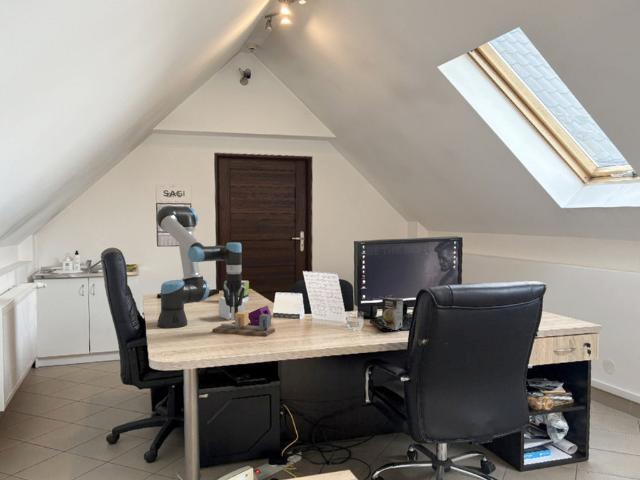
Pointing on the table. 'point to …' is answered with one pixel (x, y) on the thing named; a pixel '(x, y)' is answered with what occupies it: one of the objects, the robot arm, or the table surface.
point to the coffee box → (392, 312)
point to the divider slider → (241, 319)
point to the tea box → (245, 284)
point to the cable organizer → (228, 308)
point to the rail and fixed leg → (263, 325)
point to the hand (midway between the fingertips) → (233, 319)
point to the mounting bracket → (257, 315)
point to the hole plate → (243, 331)
